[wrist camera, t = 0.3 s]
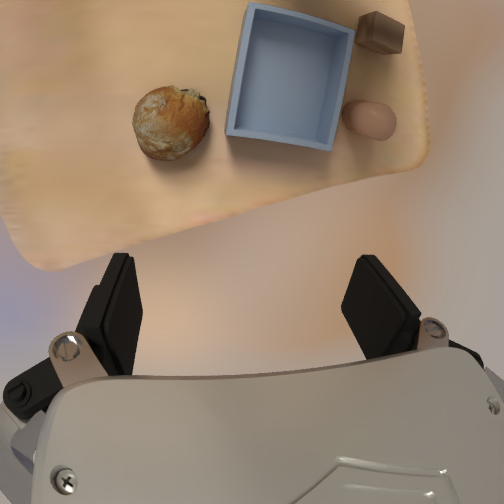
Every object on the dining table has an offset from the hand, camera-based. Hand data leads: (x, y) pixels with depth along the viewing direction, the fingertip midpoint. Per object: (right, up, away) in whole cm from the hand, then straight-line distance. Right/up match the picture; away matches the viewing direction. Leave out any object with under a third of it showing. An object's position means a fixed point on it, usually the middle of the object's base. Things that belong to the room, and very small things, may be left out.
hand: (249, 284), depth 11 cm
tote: (+4, +25, +21) cm, 33 cm away
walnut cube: (+18, +33, +18) cm, 42 cm away
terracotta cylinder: (+16, +22, +25) cm, 37 cm away
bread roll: (-11, +19, +23) cm, 32 cm away
